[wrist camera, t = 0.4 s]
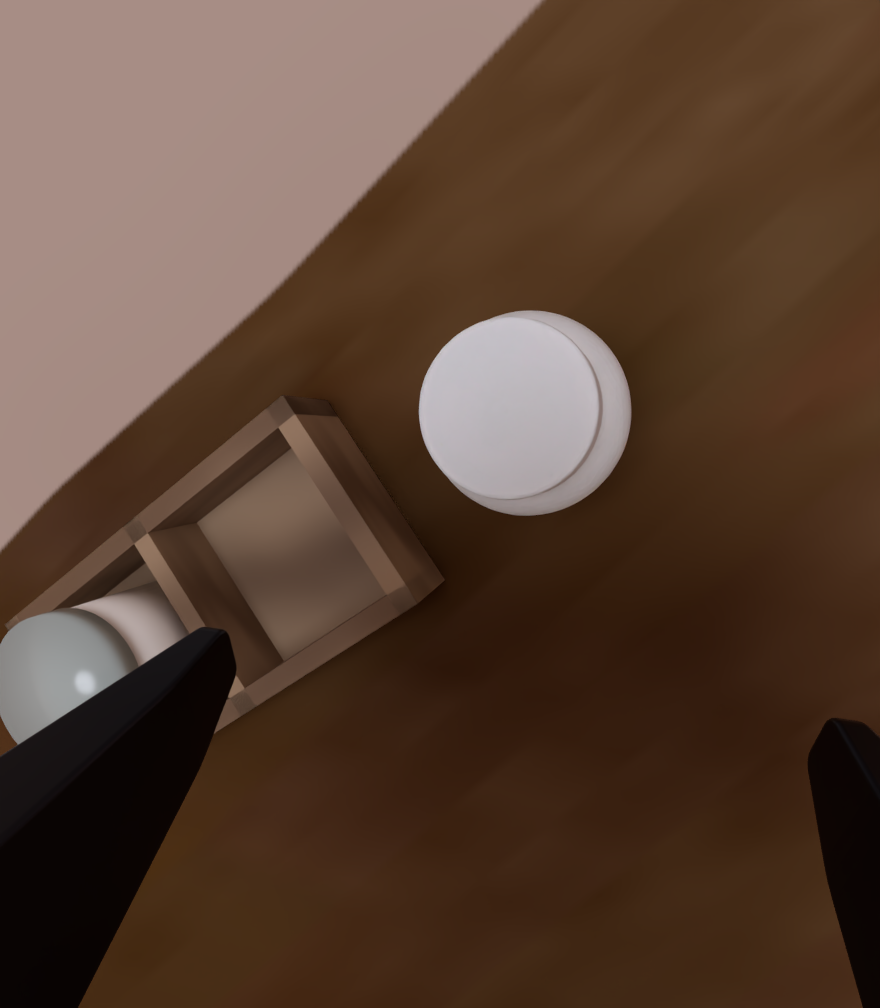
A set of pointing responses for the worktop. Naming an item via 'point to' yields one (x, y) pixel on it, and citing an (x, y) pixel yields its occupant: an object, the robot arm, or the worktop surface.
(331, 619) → the crate
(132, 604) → the jar
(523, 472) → the supplement bottle
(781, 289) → the worktop surface
